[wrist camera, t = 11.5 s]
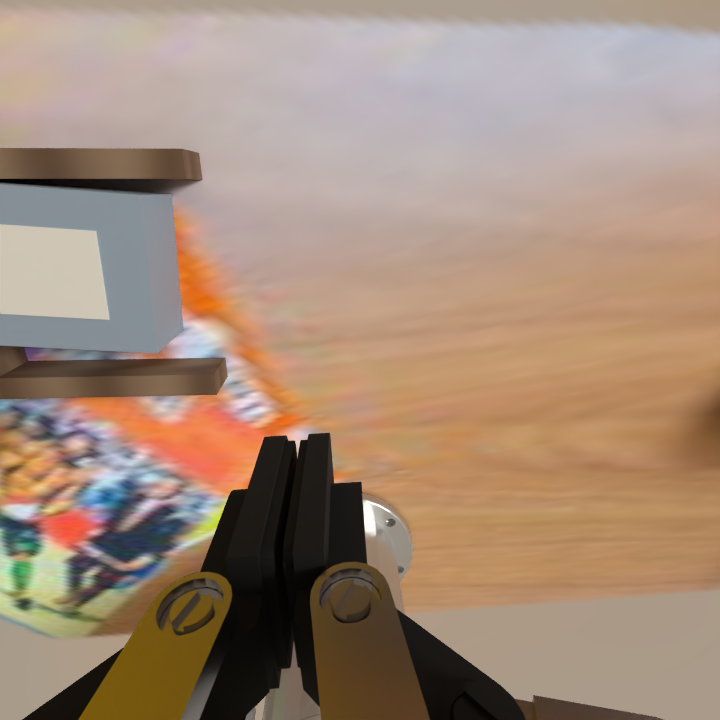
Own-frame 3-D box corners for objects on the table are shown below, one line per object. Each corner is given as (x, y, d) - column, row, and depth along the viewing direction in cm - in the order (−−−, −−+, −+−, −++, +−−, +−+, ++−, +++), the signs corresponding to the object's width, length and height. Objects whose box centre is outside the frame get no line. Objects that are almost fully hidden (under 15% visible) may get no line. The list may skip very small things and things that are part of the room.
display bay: (198, 153, 26) (182, 148, 23) (227, 376, 32) (216, 394, 29) (-65, 152, 25) (-114, 148, 23) (12, 380, 31) (-20, 399, 28)
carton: (173, 193, 27) (138, 195, 22) (184, 328, 30) (156, 354, 26) (-9, 180, 26) (-85, 178, 22) (23, 319, 30) (-37, 344, 25)
